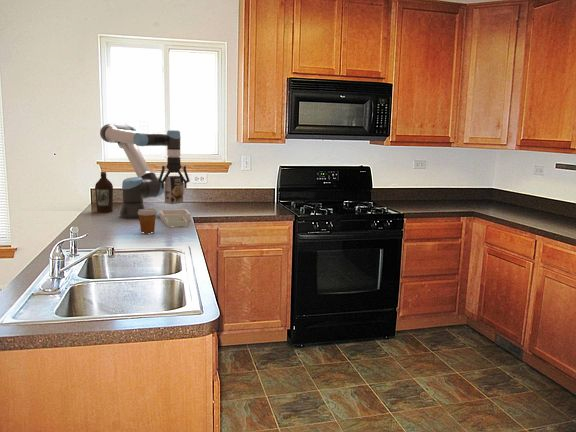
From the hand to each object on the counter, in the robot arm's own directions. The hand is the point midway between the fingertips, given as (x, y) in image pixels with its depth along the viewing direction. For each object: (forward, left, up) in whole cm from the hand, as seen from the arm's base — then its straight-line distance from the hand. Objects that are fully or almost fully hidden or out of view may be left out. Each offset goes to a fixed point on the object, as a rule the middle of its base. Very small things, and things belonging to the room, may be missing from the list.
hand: (174, 194), depth 294 cm
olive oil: (-39, +34, -15) cm, 54 cm away
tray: (-2, -20, -15) cm, 25 cm away
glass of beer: (-19, -38, -15) cm, 45 cm away
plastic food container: (0, 0, -15) cm, 15 cm away
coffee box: (0, 0, -6) cm, 6 cm away
